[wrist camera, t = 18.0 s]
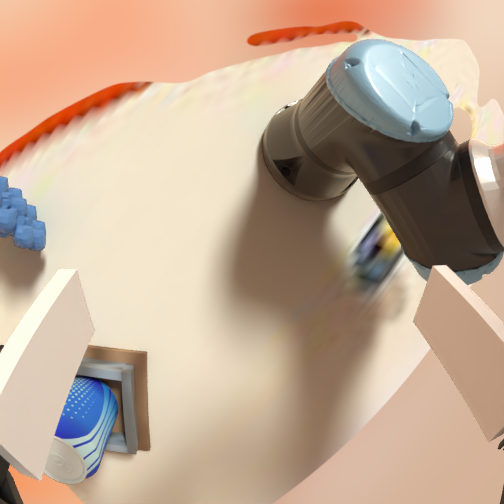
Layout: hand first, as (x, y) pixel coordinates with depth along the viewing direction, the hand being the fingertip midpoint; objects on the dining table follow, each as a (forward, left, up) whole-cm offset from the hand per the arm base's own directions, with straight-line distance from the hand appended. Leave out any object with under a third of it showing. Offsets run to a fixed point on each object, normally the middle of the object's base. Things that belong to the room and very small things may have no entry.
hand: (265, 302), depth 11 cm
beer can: (+15, +20, -30) cm, 39 cm away
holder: (+15, +20, -31) cm, 40 cm away
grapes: (+26, -4, -31) cm, 41 cm away
